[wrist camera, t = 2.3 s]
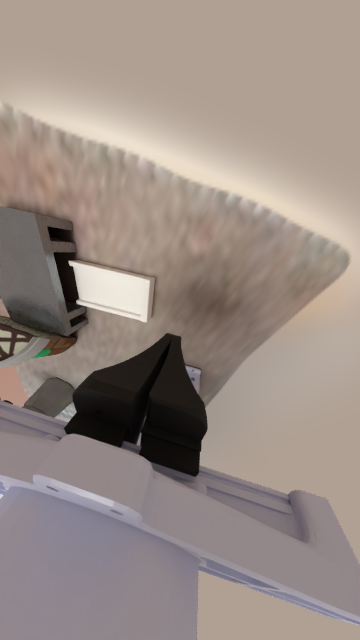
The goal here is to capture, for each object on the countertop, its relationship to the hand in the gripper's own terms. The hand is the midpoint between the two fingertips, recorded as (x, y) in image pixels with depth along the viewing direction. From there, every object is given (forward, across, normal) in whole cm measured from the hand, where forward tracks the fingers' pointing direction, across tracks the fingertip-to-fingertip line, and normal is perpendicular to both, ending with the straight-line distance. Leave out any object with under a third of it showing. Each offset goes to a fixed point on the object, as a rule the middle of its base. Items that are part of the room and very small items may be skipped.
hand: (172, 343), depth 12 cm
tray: (+9, +11, 0) cm, 15 cm away
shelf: (+9, +23, 0) cm, 24 cm away
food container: (+8, +26, +14) cm, 30 cm away
